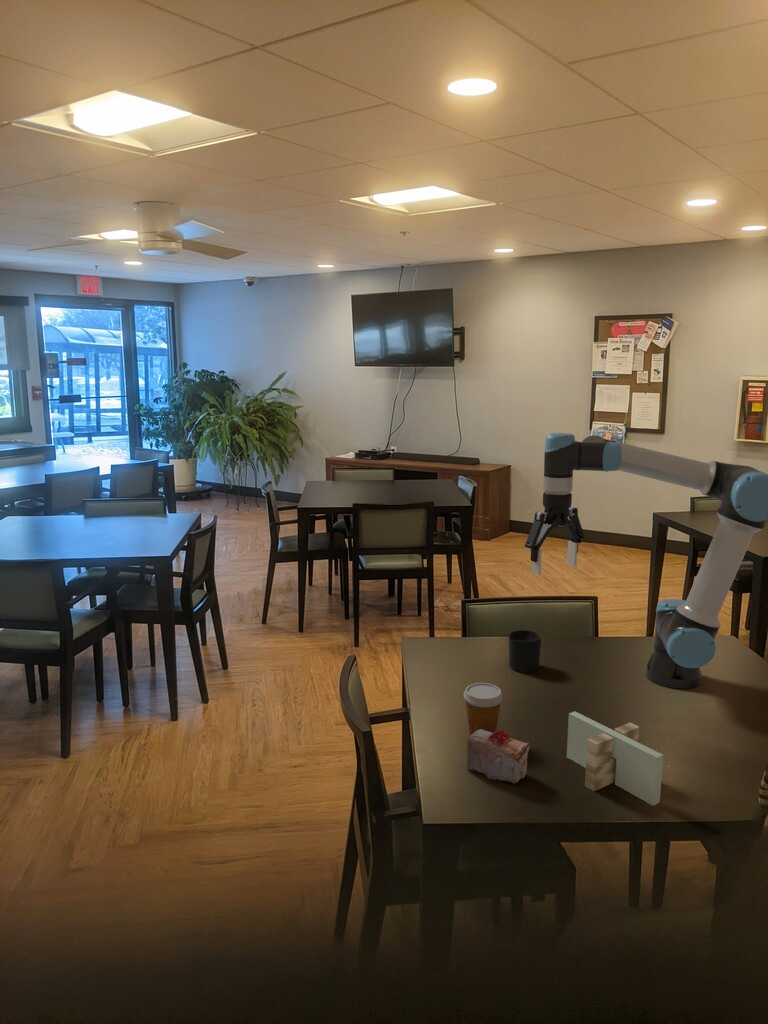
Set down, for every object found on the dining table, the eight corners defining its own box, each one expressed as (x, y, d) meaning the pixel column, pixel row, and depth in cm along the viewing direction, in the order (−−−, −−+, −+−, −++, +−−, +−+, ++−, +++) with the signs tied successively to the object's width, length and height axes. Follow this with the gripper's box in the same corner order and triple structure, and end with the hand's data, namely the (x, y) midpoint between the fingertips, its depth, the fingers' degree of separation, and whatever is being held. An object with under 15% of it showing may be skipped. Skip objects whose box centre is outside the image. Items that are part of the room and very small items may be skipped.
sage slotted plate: (566, 757, 181) (568, 713, 179) (572, 754, 182) (574, 711, 180) (653, 806, 161) (657, 757, 159) (659, 803, 162) (663, 754, 160)
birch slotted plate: (627, 767, 176) (630, 722, 174) (636, 772, 174) (639, 726, 172) (584, 786, 169) (587, 739, 167) (593, 791, 167) (596, 744, 164)
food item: (532, 774, 174) (534, 733, 172) (518, 790, 167) (520, 748, 165) (477, 757, 181) (478, 718, 179) (462, 772, 174) (462, 732, 172)
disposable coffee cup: (502, 746, 186) (503, 700, 183) (462, 744, 187) (462, 698, 184) (501, 727, 195) (502, 683, 192) (463, 724, 196) (464, 681, 193)
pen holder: (544, 665, 234) (545, 633, 232) (532, 676, 226) (534, 643, 224) (515, 659, 239) (516, 628, 237) (502, 669, 231) (503, 637, 229)
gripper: (579, 485, 216) (575, 559, 220) (513, 494, 202) (510, 573, 207) (600, 489, 210) (596, 565, 214) (533, 499, 196) (530, 579, 201)
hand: (554, 569), depth 210 cm, fingers open, 13 cm apart
